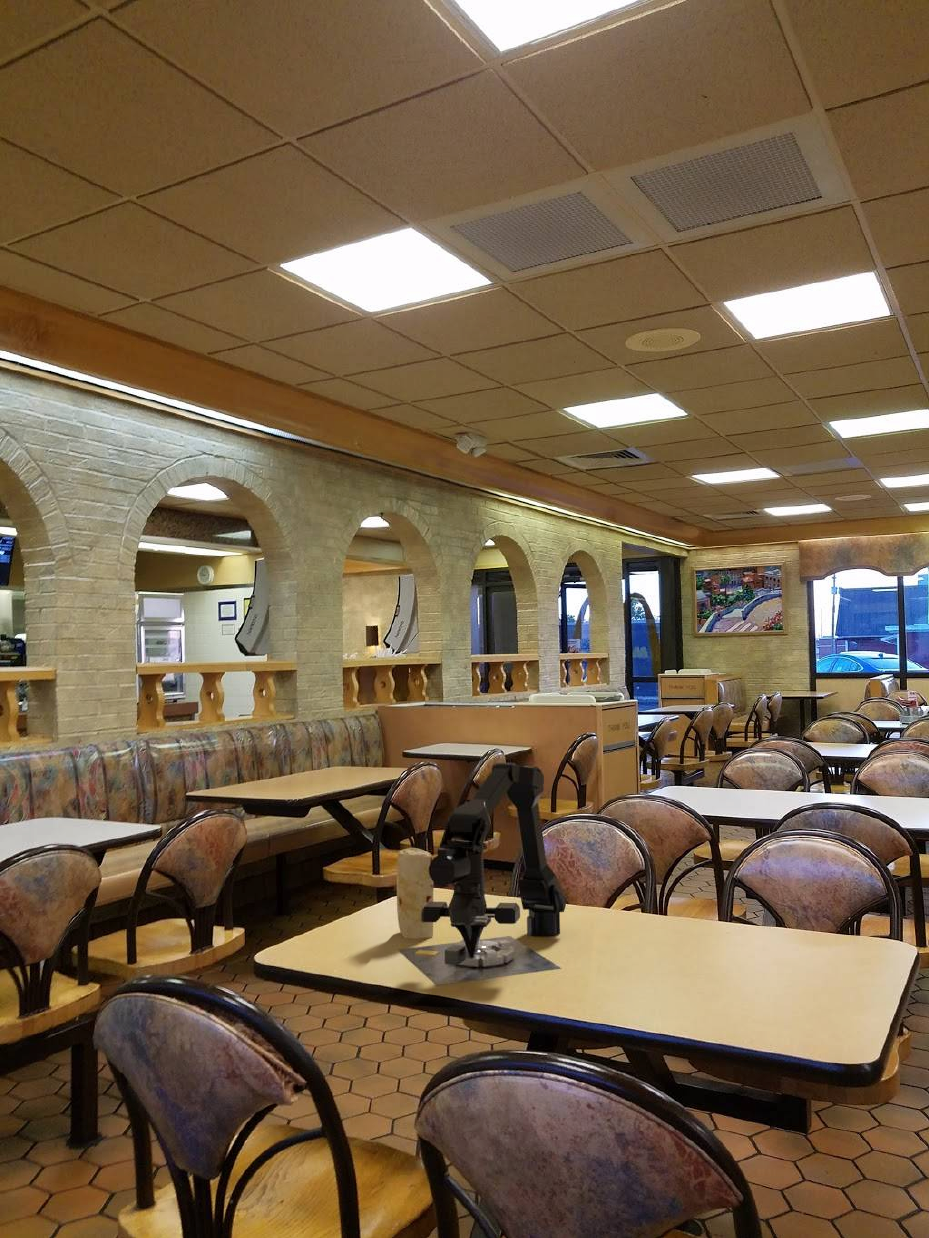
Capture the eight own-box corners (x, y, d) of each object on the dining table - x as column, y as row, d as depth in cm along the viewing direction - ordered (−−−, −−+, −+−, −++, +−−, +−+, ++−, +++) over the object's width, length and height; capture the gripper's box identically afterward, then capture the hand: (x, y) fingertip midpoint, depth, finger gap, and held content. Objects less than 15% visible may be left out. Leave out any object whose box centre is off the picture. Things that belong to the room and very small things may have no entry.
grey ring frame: (464, 944, 209) (464, 921, 209) (522, 951, 203) (521, 926, 204) (420, 973, 190) (420, 947, 190) (482, 980, 184) (482, 954, 184)
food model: (441, 938, 219) (439, 848, 220) (422, 945, 214) (421, 853, 215) (407, 932, 225) (406, 844, 226) (388, 939, 219) (387, 849, 220)
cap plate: (510, 940, 216) (509, 924, 217) (561, 973, 192) (561, 955, 192) (397, 954, 207) (397, 938, 208) (436, 990, 183) (436, 972, 183)
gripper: (411, 884, 185) (414, 968, 184) (508, 885, 181) (511, 971, 180) (427, 872, 196) (430, 951, 195) (519, 873, 192) (522, 954, 191)
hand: (472, 957), depth 190 cm, fingers closed
